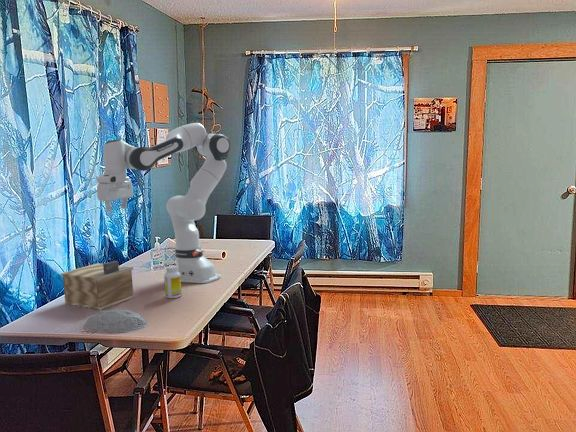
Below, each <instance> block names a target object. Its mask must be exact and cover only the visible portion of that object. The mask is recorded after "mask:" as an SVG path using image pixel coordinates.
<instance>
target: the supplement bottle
mask: <svg viewBox="0 0 576 432" xmlns="http://www.w3.org/2000/svg"><path fill="white" fill-rule="evenodd" d="M165 269H166V273H164V277H163V279H164V292H165V297H166V298H168V299H177V298H180V297H181V296H182V295H183V293H182V282H181V277H180V273H179V272H177V269H178V267H177V266H176V265H168V266H166V267H165Z"/></svg>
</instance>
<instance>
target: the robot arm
mask: <svg viewBox="0 0 576 432" xmlns="http://www.w3.org/2000/svg"><path fill="white" fill-rule="evenodd" d="M165 136H166V137H165V140H164V141H162V142H160V143H157V144H155V145H153V146H140V147H135V146H133V145H132V144H129V143H127V142H125V140H123V139H121V138H119V139H111V140H107V141H106V142H105V143H104V145H103V146H104V147H103V162H104V170H103V171H104V172H103V173H102V174H101V175H100V176H98V177H96V183H97V186H96V196H97V200H98V201H99V202H104V205H105V206H106V211H107V212H112V211H113V206H112V205H111V203H112V201H114V200H115V201H116V200H121V201H122V202H121V204H120V209H122V210H123V209H127V204H128V201H129V198H133V196H134V187H133V183H132V179H131V178H130V177H129V176H127V169H129V170H130V169H131V170H136V171H138V170H139V171H142V172H145V171H148V170H149V171H150V170H151V169H152V168H153V167H154V166H155V165H156V164H157V162H159V161H160V160H163V159H164V158H166V157H168V156H171V155H174V154H177V153H182V152H186V151H188V150H191V149H194V151H195V152H196V154H198V155H199V156H201V157H205V160H204V162H203V164H202V166H200V168H199V169H198V171H197V172H196V173H195V175H194V176H193V178H192V179H191V180H190V182H189V189H188V191H187V193H186V194H185V195H175V196H172V197H170V198H169V199H168V200H167V202H166V206H165V208H166V211H167V214H169V216H170V219H171V223H172V227H173V230H174V236H175V237H174V239H175V250H174V253H175V255H174V256H175V259H176V261H175V263H176V264H175V266H177V267H178V269H177V272H179V273H180V277H181V283H192V284H207V283H212V282H215V281H217V280H219V279H221V277H222V275H221V274H219V273H217V271H216V268H215V265H214V263H213V262H211V261H210V260H209V259H208V258H207V257H205V256H204V253H205V249H202V248H201V246H200V232H199V229H198V228H197V226H196V223H195V221H199V220H201V219H202V218H203V217H204V216H205V214H206V210H207V209H206V206H207V203H208V199H209V197H210V196H211V194H212V192H213V191H214V190H215V188H216V187H217V185H218V184H219V182H220V181H221V180H222V178H223V176H224V174H225V172H226V170H227V167H228V164H227V161H226V160H225V159H227V158H228V154H229V152H230V149H231V140H230V138H228V136H226V135H224V134H221V133H208V132H207V130H206V128H205V127H204V125H203V124H202V123H200V122H191V123H187V124H184V125H180V126H178V127H176V128H174V129H172V130H170V131H169V132H168V133H167V134H166V135H165Z"/></svg>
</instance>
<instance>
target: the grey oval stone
mask: <svg viewBox="0 0 576 432" xmlns="http://www.w3.org/2000/svg"><path fill="white" fill-rule="evenodd" d="M148 325H149V324H148V321H147V320H146V319H145V318H144V317H143V316H141V315H140V314H138V312H135V311H134V310H127V309H107V310H99V311H98V312H97V313H94V314H92V315H90V316H89V317H88V318H87V320H86V321H85V323H84V324H83V329H85V328H86V329H85V330H87V329H88V331H90V330H92V331H91V332H96V331H100V332H99V333H108V334H117V333H118V334H120V333H134V332H137V331H141V330H143V329H145V328H146V327H148Z"/></svg>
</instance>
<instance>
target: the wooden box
mask: <svg viewBox="0 0 576 432" xmlns="http://www.w3.org/2000/svg"><path fill="white" fill-rule="evenodd" d="M62 281H63V282H62V283H63V291H64V293H63V294H64V302H65V303H66V304H65V303H64V304H65V305H69V304H72V305H71V306H75V305H77V306H76V307H80V306H82V307H81V308H86V307H88V308H87V309H92V308H93V309H94V310H97V309H98V310H99V311H103V310H104V309H106V308H109V307H112V306H114V305H117V304H118V305H119V303H123V302H125V301H128V300H130V299H134V287H133V285H134V284H133V273H132V270H130V271H126V272H123V273H120V274H117V275H114V276H110V277H107V278H104V279H101V280H91V279H83V278H76V277H69V276H62ZM98 310H97V311H98Z"/></svg>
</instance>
